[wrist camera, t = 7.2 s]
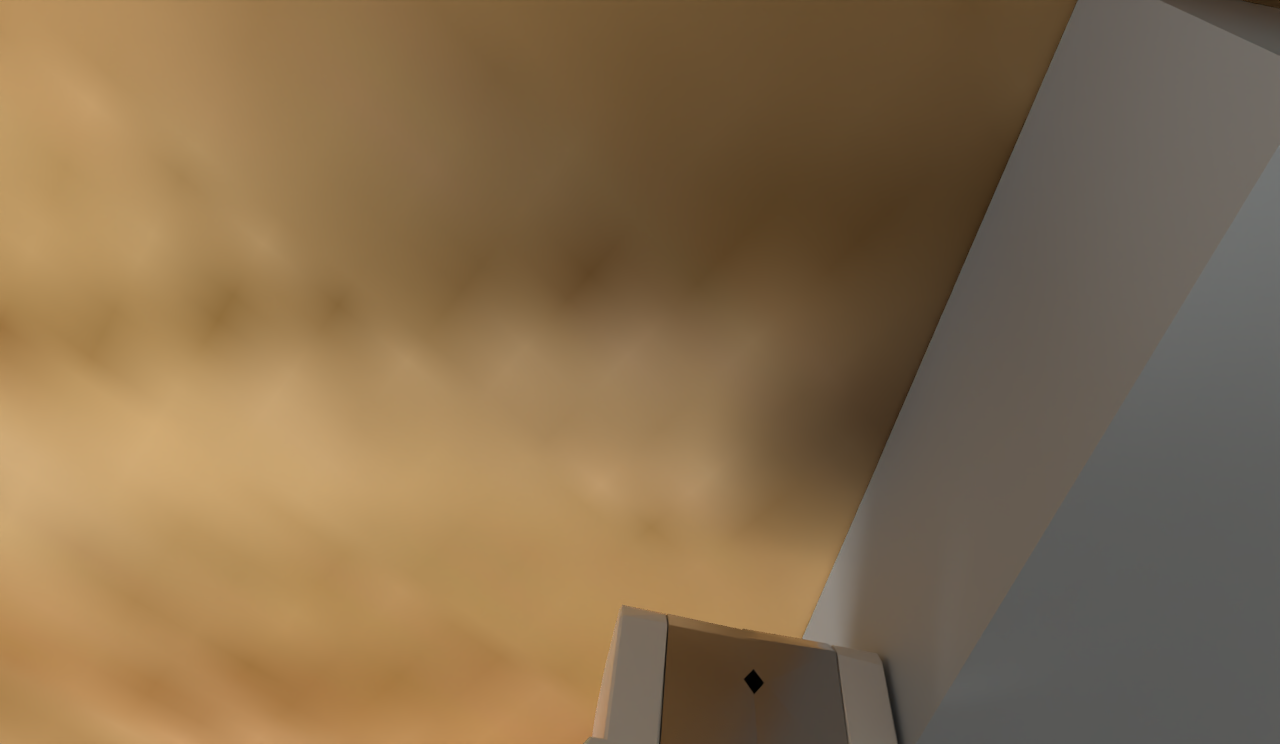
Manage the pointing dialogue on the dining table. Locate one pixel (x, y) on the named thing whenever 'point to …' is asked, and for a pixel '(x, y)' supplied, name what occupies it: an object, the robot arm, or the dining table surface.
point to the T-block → (1097, 415)
